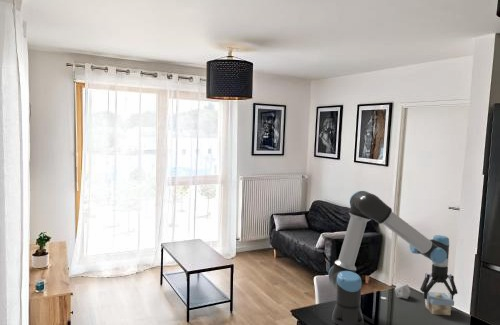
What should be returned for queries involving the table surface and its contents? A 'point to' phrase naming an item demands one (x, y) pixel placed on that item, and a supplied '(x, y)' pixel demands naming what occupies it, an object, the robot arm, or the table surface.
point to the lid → (440, 299)
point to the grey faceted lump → (402, 291)
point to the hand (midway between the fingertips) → (438, 305)
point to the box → (439, 309)
